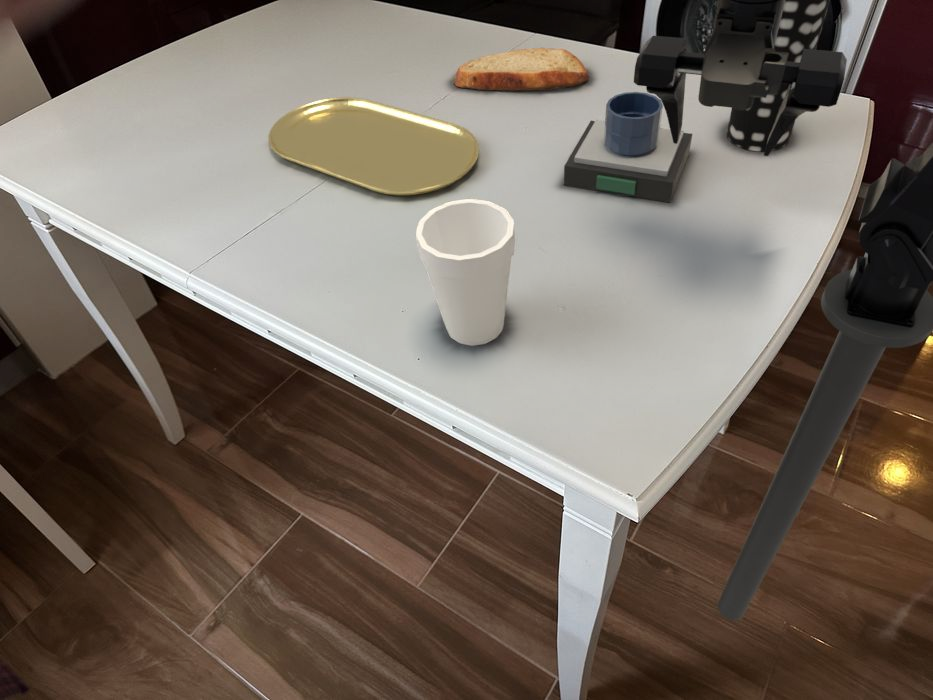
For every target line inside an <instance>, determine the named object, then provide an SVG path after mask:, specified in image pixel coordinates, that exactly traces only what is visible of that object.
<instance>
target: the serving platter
mask: <svg viewBox="0 0 933 700" xmlns="http://www.w3.org/2000/svg"><path fill="white" fill-rule="evenodd" d="M268 144H269V147H270V148H271V150H272V151H273V152H274V153H276V154H277V155H278V156H279V157H281V158H283V159H285V160H287V161H289V162H292V163H295V164H298V165H301V166H303V167H306V168H309V169H312V170H315V171H317V172H319V173H323V174H326V175H329V176H330V177H331V176H332V177H334V178H337V179H339V180H342V181H346V182H347V183H351V184H353V185H357V186H360V187H362V188H365V189H368V190H370V191H373V192H376V193H380V194H384V195H390V196H417V195H423V194H428V193H432V192H435V191H438V190H439V191H440V190H442V189H444V188H446V187H448V186H450V185H453V184H455V183H457V181H459V180H460V179H462V178H463V177H464V176H466V175H467V174H468V173H469V172H470V171H471V170H472V169H473V167H474V166H475V164H476V162H477V160H478V158H479V155H480V146H479V142H478V140H477V138H476V137H475V136H474V134H473V133H472V132H471V131H470V130H468V129H467V128H465V127H463V126H461V125H459V124H456V123H453V122H449V121H445V120H442V119H439V118H435V117H431V116H428V115H425V114H421V113H417V112H413V111H410V110H406V109H402V108H400V107H396V106H392V105H388V104H386V103H381V102H378V101H374V100H371V99H367V98H361V97H354V96H353V97H351V96H348V97H347V96H345V97H343V96H342V97H341V96H340V97H331V98H326V99H321V100H316V101H312V102H309V103H307V104H306V103H305V104H303V105H301V106H299V107H296V108H294V109H293V110H292V109H291V111H289V112H287V113H285V114H284V115H282V116H281V117H280V118H279V119H278V120H277V121H276V122H275V123H274V124H273V125H272V127H271V128H270V130H269V133H268Z"/></svg>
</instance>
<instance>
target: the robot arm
mask: <svg viewBox="0 0 933 700" xmlns="http://www.w3.org/2000/svg"><path fill="white" fill-rule="evenodd" d="M784 4H785V0H717V3H716V8H715V16H714V21H713V27H712V33H711V35H710V37H709V39H708V40H707V43H706V45H705V47H704V49H705V50H704V53H702V52H692V51H691V52H690V51H687V47H688V42H687V41H688V40H687V38H685V37H676V36H675V37H674V36H662V35H652V36H651V37H650V38H649V39H647V40H646V41H645V43H644V45H643V46H642V48H641V50H640V51H639V54H638V55H637V58H636V61H635V65H634V74H633V84H635V85H637V86H639V87H645V88H646V93H648V94H651V95H655V96H656V97H657V98H658V99H660V100H661V102H662V105H663V108H664V110H665V113H666V118H667V122H668V125H669V126H668V127H669V129H670V130H671V135H672V139H673V143H675V144H677V143H678V141H679V138H680V133H681V131H682V129H683V120H684V118H683V117H684V104H685V103H684V102H685V93H686V92H685V90H686V78H687V74H688V75H698V76H700V82H699V90H698V99H697V100H698V102H699V103H700V104H701V105H702V106H704V107H709V108H713V107H723V108H731V109H732V108H734V109H735V110H746V109H749V108H750V107H751V106H752V105H753V103H754V99H755V97H761V98H762V97H763V98H766V97H767V95H768V94H772V95H777V94H779V90H780V86H781V83H782V84H790V85H789V87H788V90H787V92H786V95H785V97H784V100H783V102H782V105H781V107H780V110H779V112H778V115H777V117H776V120H775V122H774V125H773V127H772V130H771V132H770V135H769V138H768V141H767V145H766V149H765V151H764V153H763V156H764V157H769V155H770V154H771V153H772V152H773V151H774V150H773V148H774V147H775V145H776V144H777V143H778V141H779V140H780V138H781V137H782V135H783V134H784V133H785V131H786V130H787V129H788V127H789V126H790V125H791V124H792V123H793V122H794V121H795V122H796V120H795V119H798V118H799V117H800V116H801V115H803V114H804V113H807V112H810V113H815V112H817V111H818V110H819V109H820V107H826V108H827V107H828V108H830V107H833V106H837V104H838V100H839V98H840V95H841V91H842V89H843V85H844V81H845V77H846V71H847V70H846V69H847V62H848V59H847V57H846V56H845V54H844V52H843V51H833V50H824V49H823V50H822V49H816V50H812V49H804V50H803V53H802V57H801V61H800V63H799V62H788V61H787V59H788V55H789V53H787V52H776V51H775V49H774V45H775V41H776V37H777V33H778V29H779V25H780V21H781V17H782V13H783V8H784ZM772 150H773V151H772ZM858 223H860V224H861V225H860V228H859V231H858V236H857V240H858V242H859V245H860V248H861V249H862V250H863V251H864V252H865V253H864V255H863V256H860V255H859V256H858V257H856V259H855V261H854V264H853V265H852V268H851V270H852V271H851V273H850V276H849V278H848V280H847V283H846V289H845V298H846V299H847V300H848V304H847V314H848V315H851V316H855V317H860V318H865V319H870V320H875V321H880V322H885V323H889V324H894V325H899V326H904V327H910V328H911V327H913V326H914V324H915V311H916V309H917V307H918V306H919V304H920V302H921V300H922V298H923V296H924V295H925V293H926V291H928V289H929V288H930V286H931V284H932V282H933V141H932V142H931V144H930V145H929V146H928V147H927V148H926V149H925V150H924V152H923V153H921V154H920V155H919V156H918V157H916V158H914V159H913V160H911V161H909V162H908V163H905V164H904V163H903V162H901V161H899V160H897V159H896V158H893V157H892V158H891V159H890V161H889V163H888V164H887V166H886V168H885V169H884V172H883V173H882V175H880V177H879V178H877V180H875V181H873V182H872V183H870V184H869V185H868V186H867V190H866V193H865V196H864V201H863V203H862V208H861V210H860V214H859V218H858ZM852 311H853V312H852Z"/></svg>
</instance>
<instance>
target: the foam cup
mask: <svg viewBox="0 0 933 700" xmlns="http://www.w3.org/2000/svg"><path fill="white" fill-rule="evenodd" d="M515 234H516V233H515V220H514V218H513V217H512V216H511V215H510V213H509V212H508V210H507V209H506V208H504V207H503V206H501V205H498V204H496V203H495V202H493V201H489V200H483V199H475V198H466V199H465V198H464V199H458V200H451V201H448V202H445V203H442V204H441V205H438V206H436V207H433V208H431V209H430V210H429V211H428V212H427V213H426V214H425V215H424V216H423V217H422V218H421V219H419V221H418V223H417V227H416V230H415V240H416V241H415V242H416V245H417V254H418V256H419V258H420V260H421V262H422V264H423V266H424V268H425V270H426V273H427V276H428V279H429V283H430V285H431V288H432V291H433V295H434V298H435V300H436V303H437V305H438V306H437V307H438V309H439V312H440V315H441V318H442V321H443V324H444V326H445V328H446V331H447V333H448V335H449V337H450V338H451V339H452V340H454V341H456V342H457V343H458V344H461V345H466V346H471V347H473V346H479V345H480V346H481V345H486V344H487V343H490V342H491V341H494V340H496V339H497V338H498V337H499V335H500V334H501V333H502V332H503V330H504V325H505V317H506V308H507V299H508V292H509V291H508V290H509V281H510V272H511V265H512V264H511V262H512V257H514V253H515V245H516V235H515Z"/></svg>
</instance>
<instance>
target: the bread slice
mask: <svg viewBox="0 0 933 700" xmlns="http://www.w3.org/2000/svg"><path fill="white" fill-rule="evenodd" d="M453 79H454V80H453V83H454V85H455V86H456V87H458V88H460V89H461V88H462V89H465V88H466V89H467V88H468V89H471V90H473V89H474V90H478V91H481V90H482V91H483V90H485V91H511V92H513V91H524V92H525V91H536V92H537V91H541V90H549V91H552V90H554V89H561V88H562V89H563V88H571V87H576V86H579V85H582V84H583V83H586V82H588V81H590V75H589V74H588V71H587V69H586V67H585V65H584V64H583V62H582V61H581V60H580V59H579V58H578V57H577V56H575V55H574V54H573V53H572V52H570V51H569V50H567V49H565V48H547V47H539V48H538V47H534V48H521V49H520V48H519V49H513V50H510V51H507V52H500V53H494V54H489V55H484V56H481V57H478V58H476V59H472V60H470V61H467V62H465V63H464V64H462V65H460V66H459V67H458V68H457V70H456V73H455V75H454V78H453Z"/></svg>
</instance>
